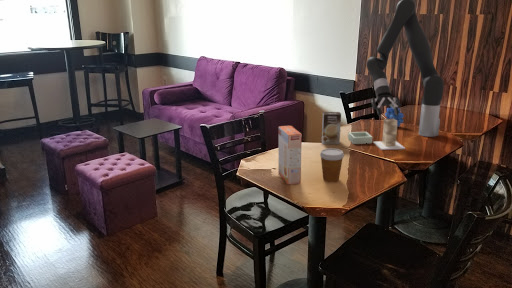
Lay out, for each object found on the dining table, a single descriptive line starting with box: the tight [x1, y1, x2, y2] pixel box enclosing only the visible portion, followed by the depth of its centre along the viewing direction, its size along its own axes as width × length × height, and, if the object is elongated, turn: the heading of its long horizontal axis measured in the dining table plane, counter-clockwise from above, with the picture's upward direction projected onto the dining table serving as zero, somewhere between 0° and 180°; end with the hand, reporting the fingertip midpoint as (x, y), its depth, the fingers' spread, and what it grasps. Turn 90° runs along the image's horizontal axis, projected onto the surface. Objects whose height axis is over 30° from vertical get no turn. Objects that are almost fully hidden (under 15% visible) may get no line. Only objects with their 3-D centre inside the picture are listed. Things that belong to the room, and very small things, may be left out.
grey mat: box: [372, 140, 406, 151], centre depth 200 cm, size 12×12×1 cm
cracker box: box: [277, 125, 303, 185], centre depth 160 cm, size 14×6×21 cm, turn 12°
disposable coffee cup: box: [319, 147, 345, 183], centre depth 158 cm, size 10×10×12 cm
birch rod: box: [381, 118, 398, 146], centre depth 199 cm, size 5×5×13 cm
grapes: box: [384, 107, 404, 127], centre depth 235 cm, size 12×7×12 cm, turn 47°
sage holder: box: [347, 131, 373, 145], centre depth 209 cm, size 10×10×4 cm
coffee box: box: [321, 111, 342, 145], centre depth 206 cm, size 9×6×16 cm
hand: (388, 115), depth 200 cm, fingers open, 8 cm apart
